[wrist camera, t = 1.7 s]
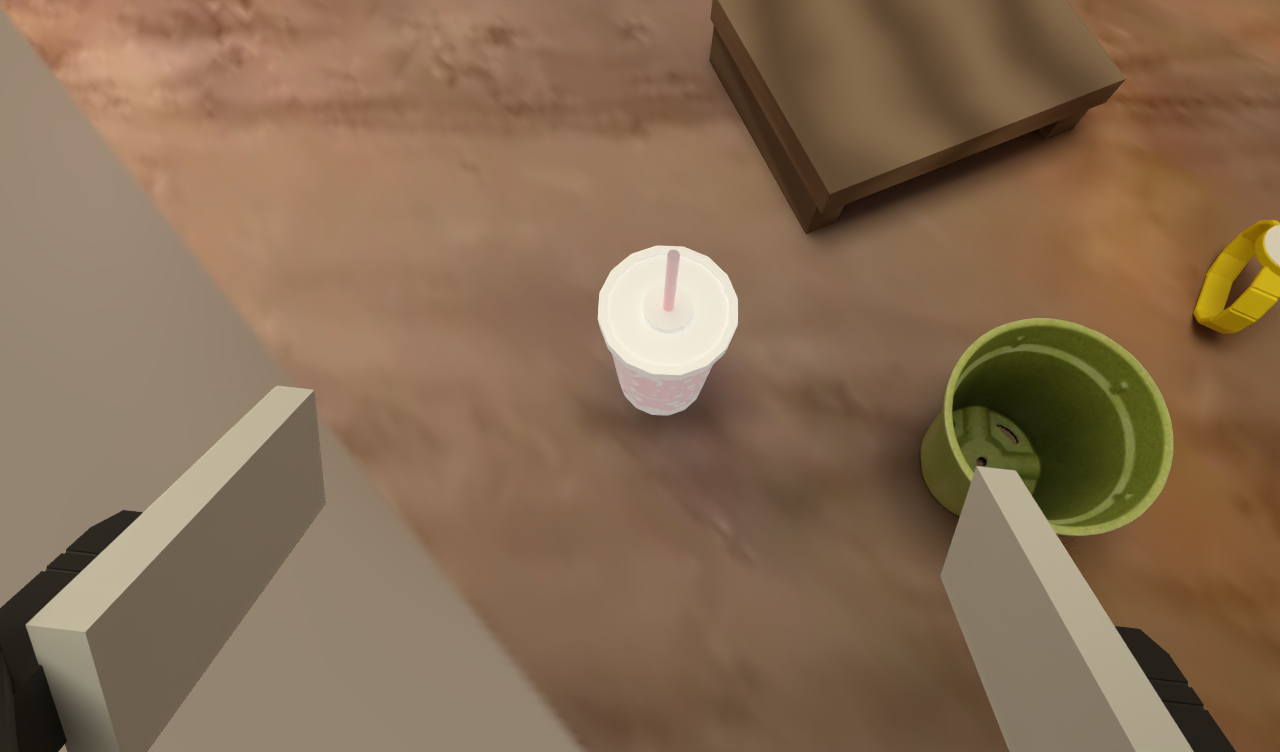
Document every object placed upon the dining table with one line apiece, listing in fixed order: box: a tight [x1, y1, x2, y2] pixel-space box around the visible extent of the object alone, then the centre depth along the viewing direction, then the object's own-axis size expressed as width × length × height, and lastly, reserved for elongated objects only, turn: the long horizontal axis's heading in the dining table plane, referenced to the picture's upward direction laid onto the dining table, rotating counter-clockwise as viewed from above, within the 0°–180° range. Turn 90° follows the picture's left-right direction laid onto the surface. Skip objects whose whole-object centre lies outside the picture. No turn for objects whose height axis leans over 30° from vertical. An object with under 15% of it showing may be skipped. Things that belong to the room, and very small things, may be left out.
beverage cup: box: [598, 246, 738, 415], centre depth 37 cm, size 6×6×14 cm
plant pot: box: [921, 318, 1173, 536], centre depth 38 cm, size 9×9×9 cm
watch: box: [1193, 220, 1280, 333], centre depth 42 cm, size 6×3×6 cm, turn 152°
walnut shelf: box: [710, 0, 1126, 233], centre depth 47 cm, size 18×14×5 cm
